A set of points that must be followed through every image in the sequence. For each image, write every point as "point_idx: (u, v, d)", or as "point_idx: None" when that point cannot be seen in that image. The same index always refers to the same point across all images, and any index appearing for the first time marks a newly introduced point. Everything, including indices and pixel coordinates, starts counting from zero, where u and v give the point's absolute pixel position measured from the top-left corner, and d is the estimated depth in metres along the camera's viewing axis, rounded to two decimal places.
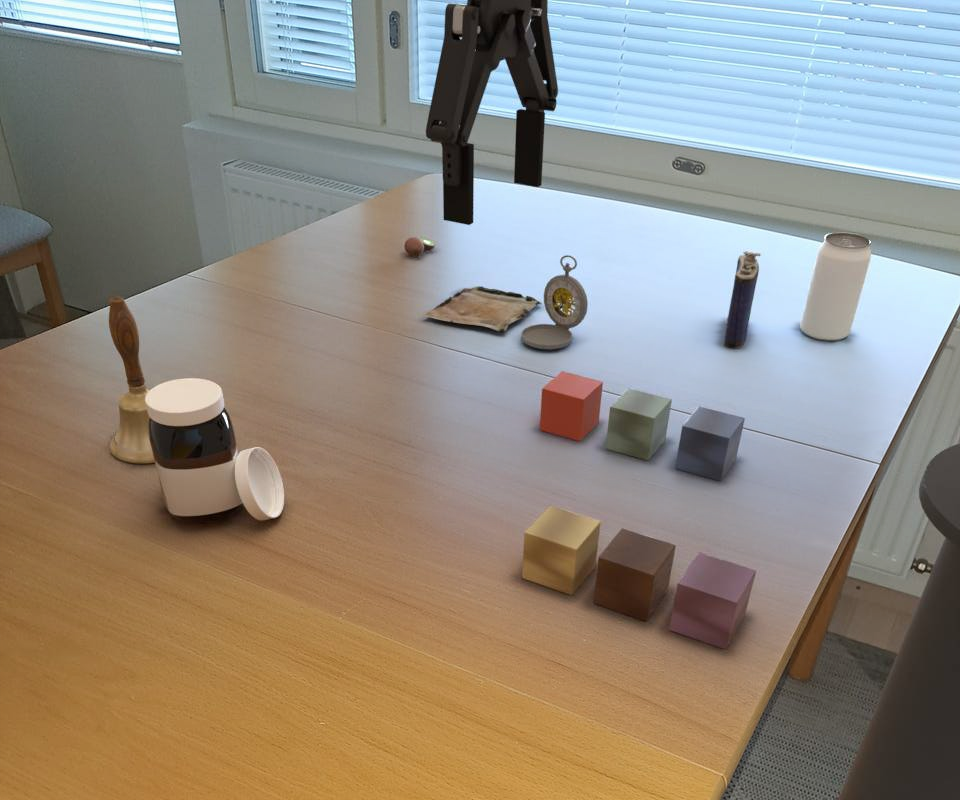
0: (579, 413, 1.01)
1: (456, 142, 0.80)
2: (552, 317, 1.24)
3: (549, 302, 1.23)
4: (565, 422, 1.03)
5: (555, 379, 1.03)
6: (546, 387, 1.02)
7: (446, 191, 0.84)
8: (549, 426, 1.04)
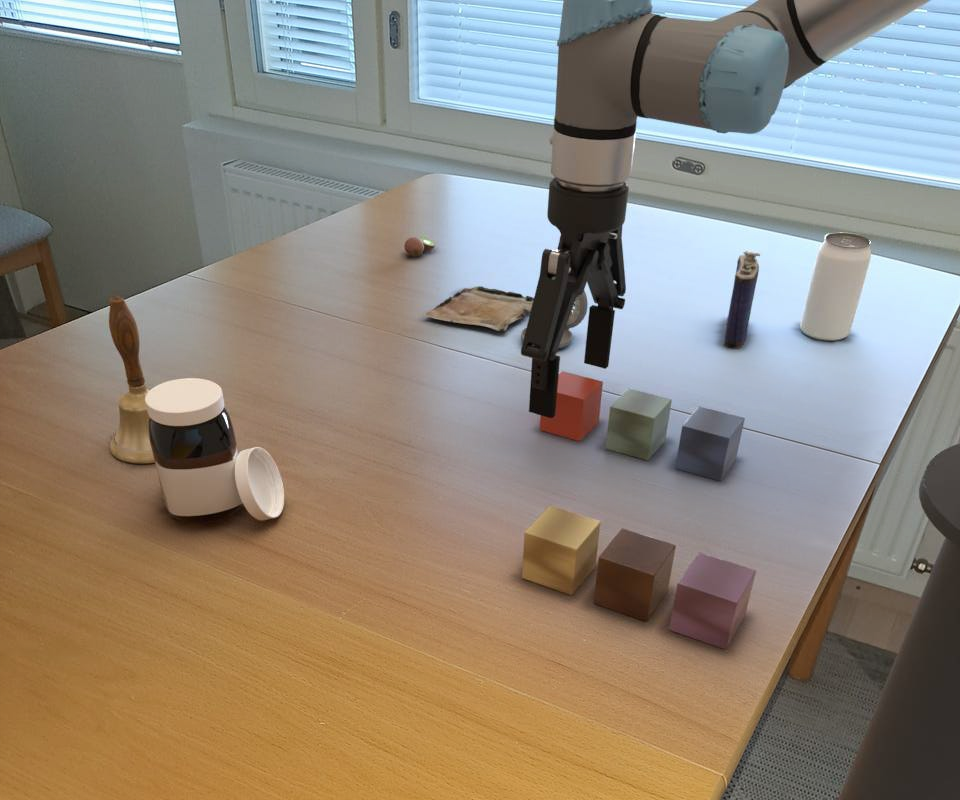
0: (579, 413, 1.01)
1: (546, 357, 0.93)
2: None
3: None
4: (565, 422, 1.03)
5: None
6: None
7: (533, 390, 0.97)
8: (549, 426, 1.04)
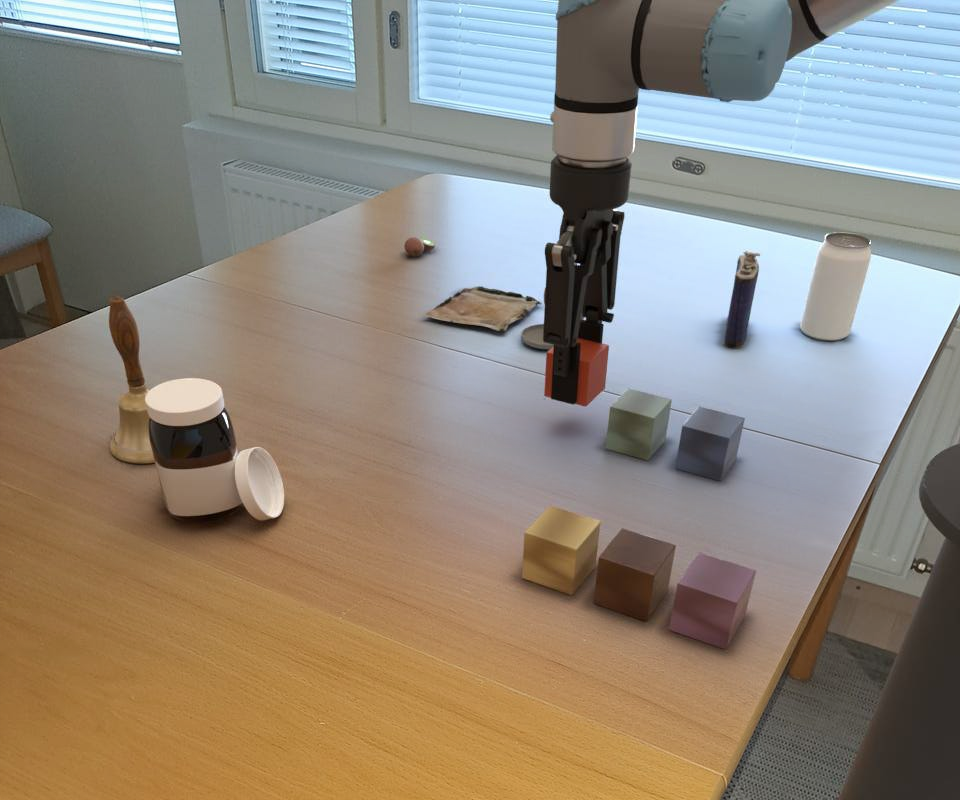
0: (585, 377, 0.98)
1: (568, 345, 0.95)
2: None
3: None
4: None
5: None
6: (551, 351, 0.99)
7: (555, 377, 0.99)
8: None
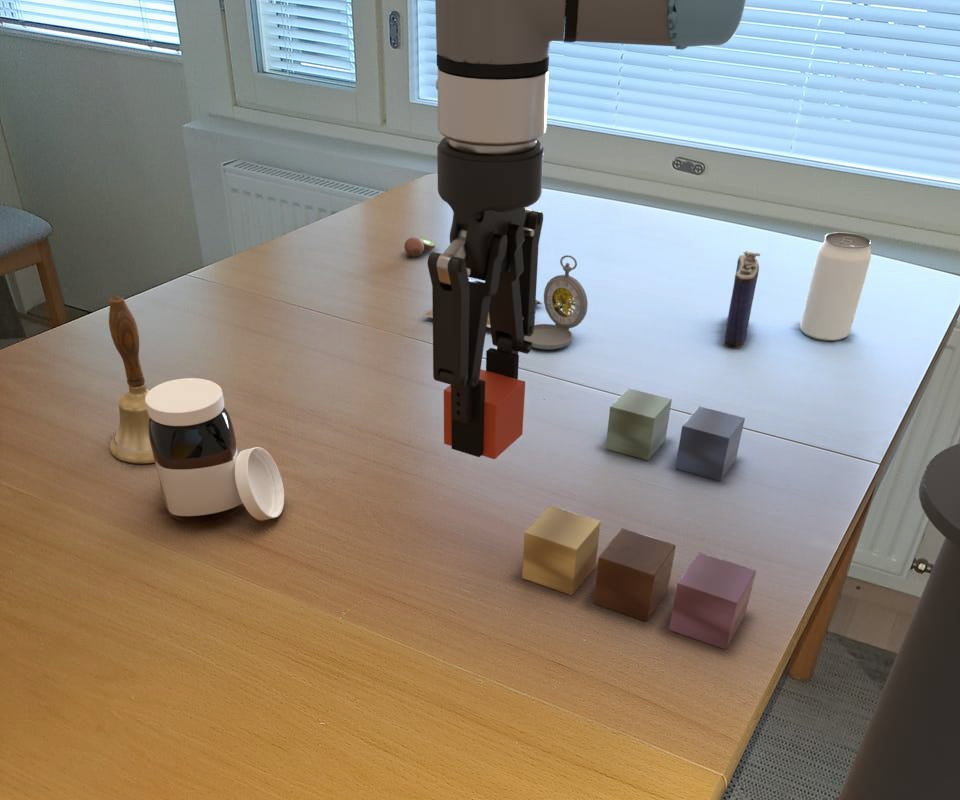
0: (491, 423, 0.77)
1: (468, 384, 0.74)
2: (552, 317, 1.24)
3: (549, 302, 1.23)
4: None
5: None
6: (449, 388, 0.78)
7: (455, 422, 0.78)
8: None
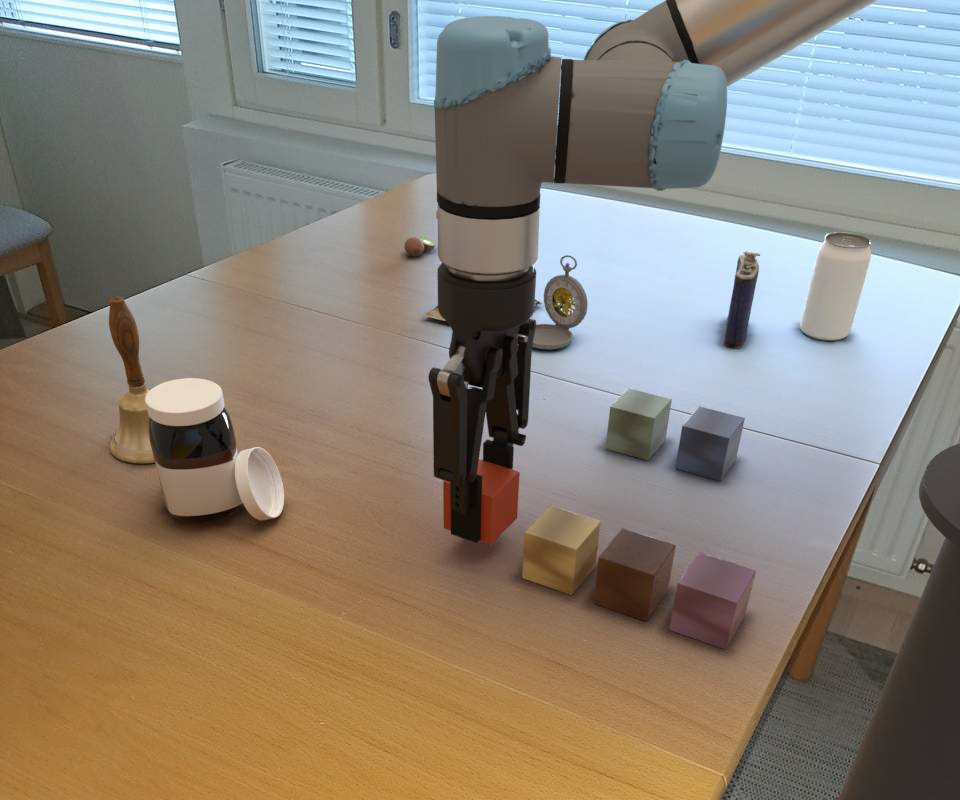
0: (488, 513, 0.82)
1: (466, 480, 0.79)
2: (552, 317, 1.24)
3: (549, 302, 1.23)
4: None
5: None
6: None
7: (454, 511, 0.83)
8: None
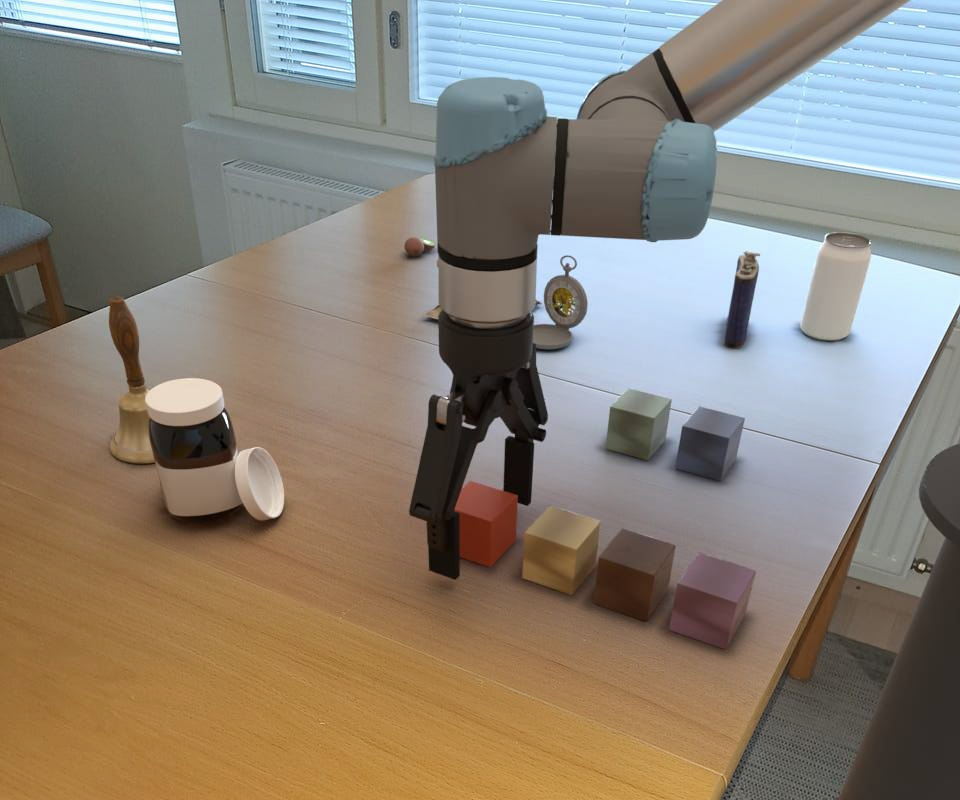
0: (487, 536, 0.84)
1: (441, 517, 0.77)
2: (552, 317, 1.24)
3: (549, 302, 1.23)
4: (472, 545, 0.85)
5: (460, 492, 0.86)
6: None
7: (432, 548, 0.81)
8: None
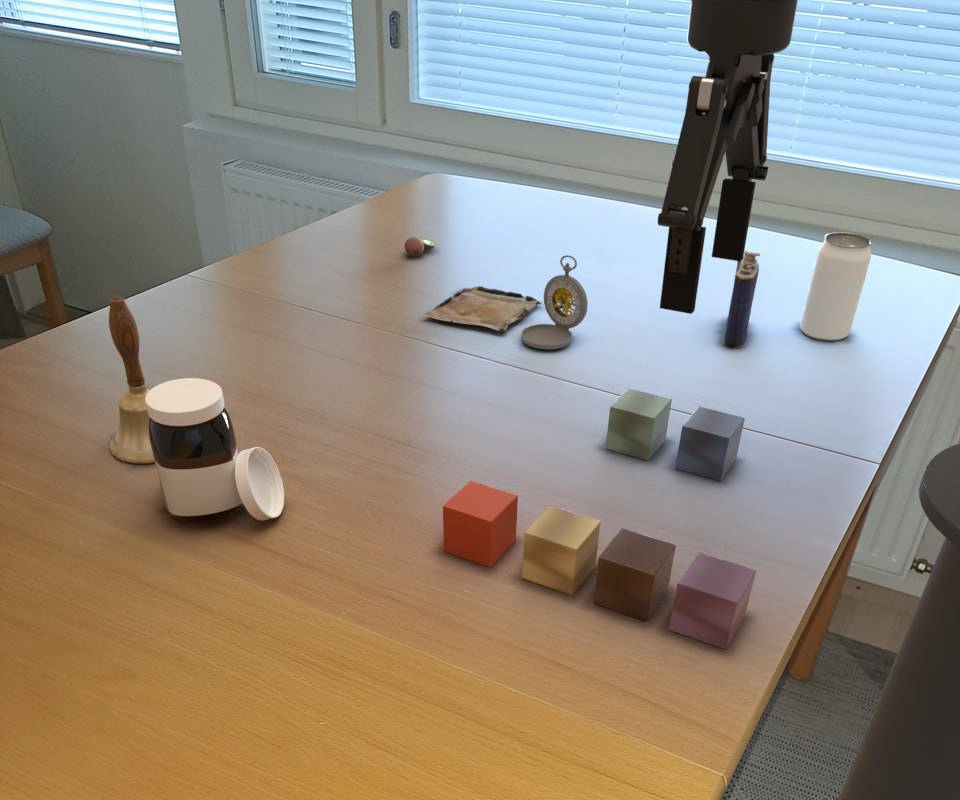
0: (487, 536, 0.84)
1: None
2: (552, 317, 1.24)
3: (549, 302, 1.23)
4: (472, 545, 0.85)
5: (460, 492, 0.86)
6: (448, 504, 0.84)
7: (667, 277, 0.75)
8: (454, 548, 0.87)
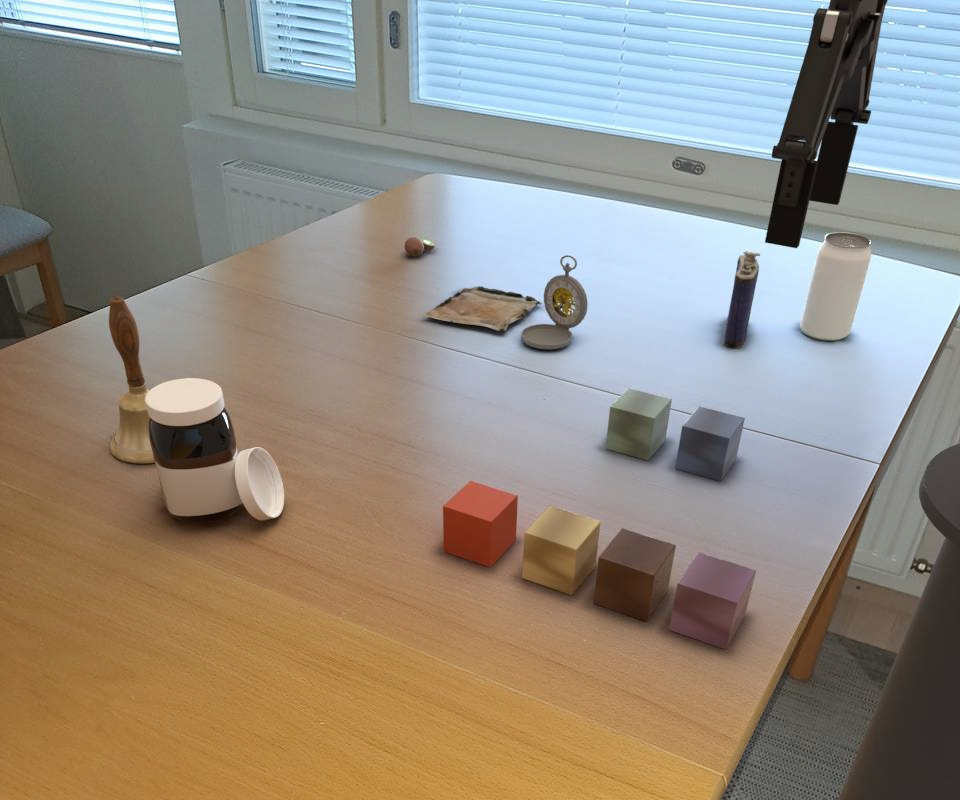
0: (487, 536, 0.84)
1: (805, 159, 0.73)
2: (552, 317, 1.24)
3: (549, 302, 1.23)
4: (472, 545, 0.85)
5: (460, 492, 0.86)
6: (448, 504, 0.84)
7: (775, 211, 0.77)
8: (454, 548, 0.87)
